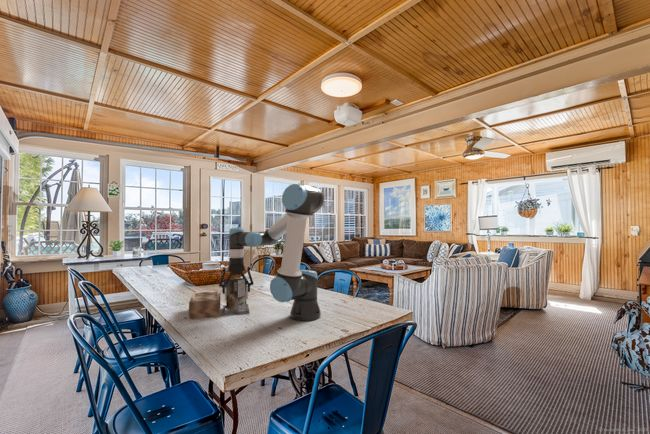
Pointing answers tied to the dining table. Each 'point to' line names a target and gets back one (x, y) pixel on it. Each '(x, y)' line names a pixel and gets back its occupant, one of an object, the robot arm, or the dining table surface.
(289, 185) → the robot arm
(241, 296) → the coffee box
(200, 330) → the dining table surface
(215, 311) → the walnut caddy
